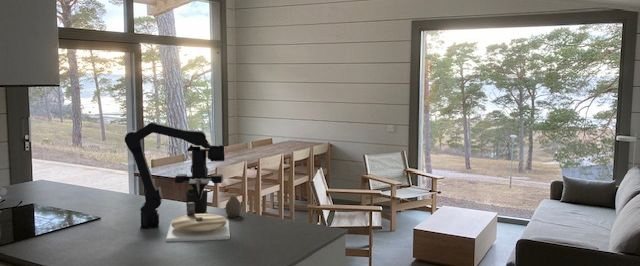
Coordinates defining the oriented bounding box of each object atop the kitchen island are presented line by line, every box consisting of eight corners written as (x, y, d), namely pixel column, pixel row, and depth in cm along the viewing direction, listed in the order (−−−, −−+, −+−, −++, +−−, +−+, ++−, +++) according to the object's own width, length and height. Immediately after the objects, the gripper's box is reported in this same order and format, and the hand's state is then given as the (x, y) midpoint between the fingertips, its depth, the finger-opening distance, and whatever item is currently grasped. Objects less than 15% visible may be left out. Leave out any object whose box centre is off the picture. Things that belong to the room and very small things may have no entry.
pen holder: (203, 209, 241) (203, 187, 240) (210, 213, 233) (210, 191, 232) (183, 211, 236) (183, 189, 235) (190, 216, 228) (189, 193, 227)
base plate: (166, 241, 192) (166, 238, 192) (171, 224, 214) (171, 221, 214) (229, 239, 196) (229, 235, 196) (228, 222, 219) (228, 219, 219)
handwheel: (235, 230, 202) (235, 210, 201) (182, 238, 191) (181, 217, 190) (213, 217, 220) (213, 199, 219) (164, 224, 209) (164, 205, 208)
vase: (238, 218, 226) (238, 198, 225) (223, 217, 227) (223, 197, 226) (243, 214, 232) (243, 195, 231) (229, 213, 234) (229, 194, 233)
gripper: (224, 158, 221) (224, 195, 223) (179, 158, 220) (180, 194, 221) (221, 163, 210) (221, 201, 211) (174, 162, 209) (174, 201, 210)
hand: (199, 199), depth 214 cm, fingers closed
